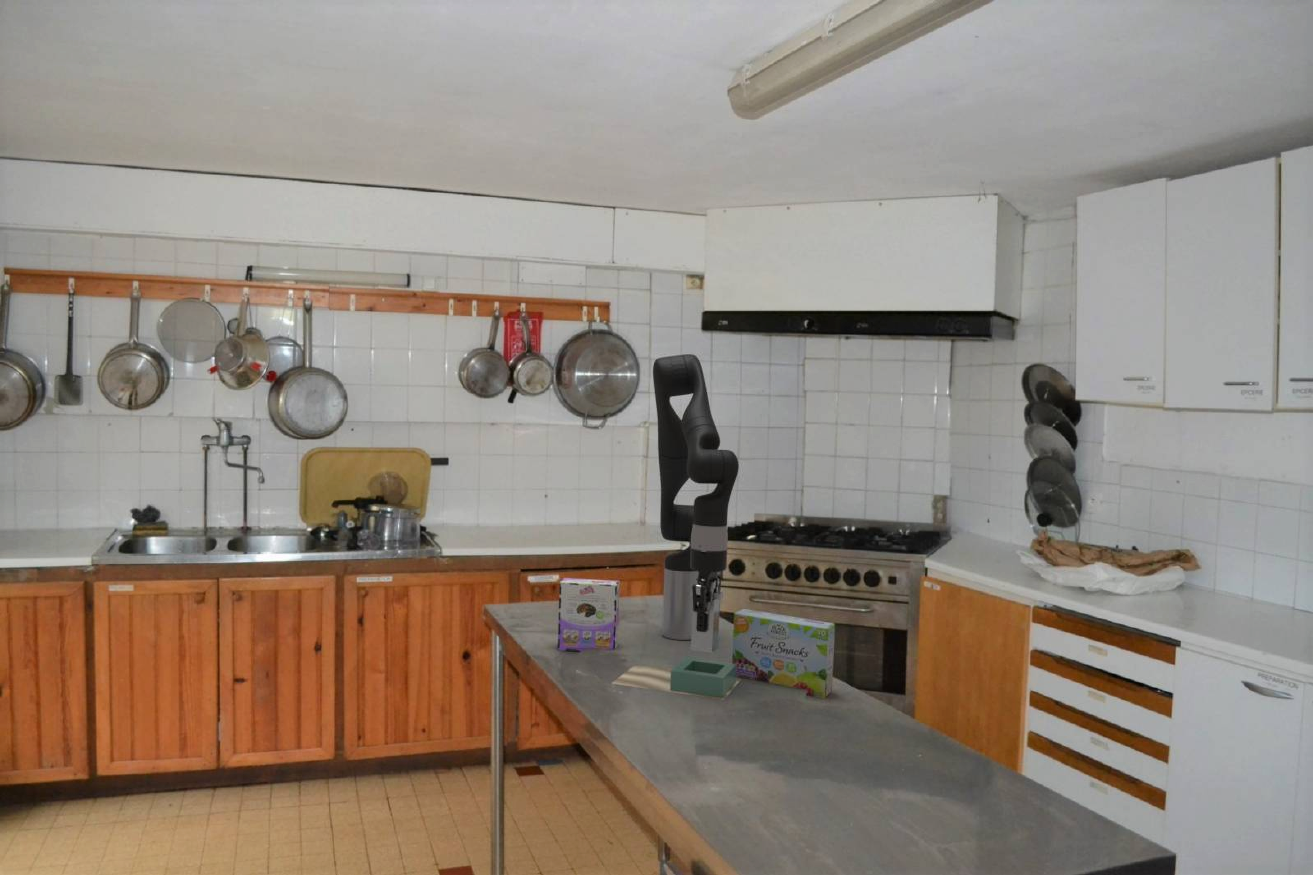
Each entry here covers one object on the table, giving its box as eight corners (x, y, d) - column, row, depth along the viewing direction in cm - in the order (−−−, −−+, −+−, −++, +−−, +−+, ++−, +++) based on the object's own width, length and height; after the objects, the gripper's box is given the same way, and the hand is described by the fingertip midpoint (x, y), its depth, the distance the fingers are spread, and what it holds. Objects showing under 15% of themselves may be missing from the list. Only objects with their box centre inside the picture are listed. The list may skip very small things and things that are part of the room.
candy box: (618, 648, 230) (620, 579, 229) (614, 654, 224) (617, 584, 224) (561, 644, 232) (563, 576, 231) (556, 650, 226) (558, 581, 225)
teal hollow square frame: (686, 675, 206) (686, 657, 206) (736, 682, 202) (736, 663, 202) (670, 690, 196) (670, 671, 195) (722, 698, 192) (723, 678, 192)
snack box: (729, 681, 207) (732, 612, 207) (740, 675, 212) (742, 607, 212) (824, 699, 198) (828, 627, 197) (833, 692, 203) (836, 621, 202)
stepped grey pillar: (692, 644, 202) (695, 587, 201) (722, 648, 200) (724, 590, 199) (686, 649, 198) (688, 591, 197) (716, 653, 196) (719, 595, 195)
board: (635, 669, 213) (636, 664, 213) (741, 684, 205) (741, 679, 205) (610, 689, 199) (611, 683, 199) (723, 705, 191) (723, 699, 191)
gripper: (701, 540, 206) (697, 619, 206) (681, 549, 192) (677, 634, 193) (735, 543, 203) (731, 623, 204) (717, 553, 190) (713, 638, 190)
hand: (705, 628), depth 198 cm, fingers closed on stepped grey pillar, 4 cm apart
